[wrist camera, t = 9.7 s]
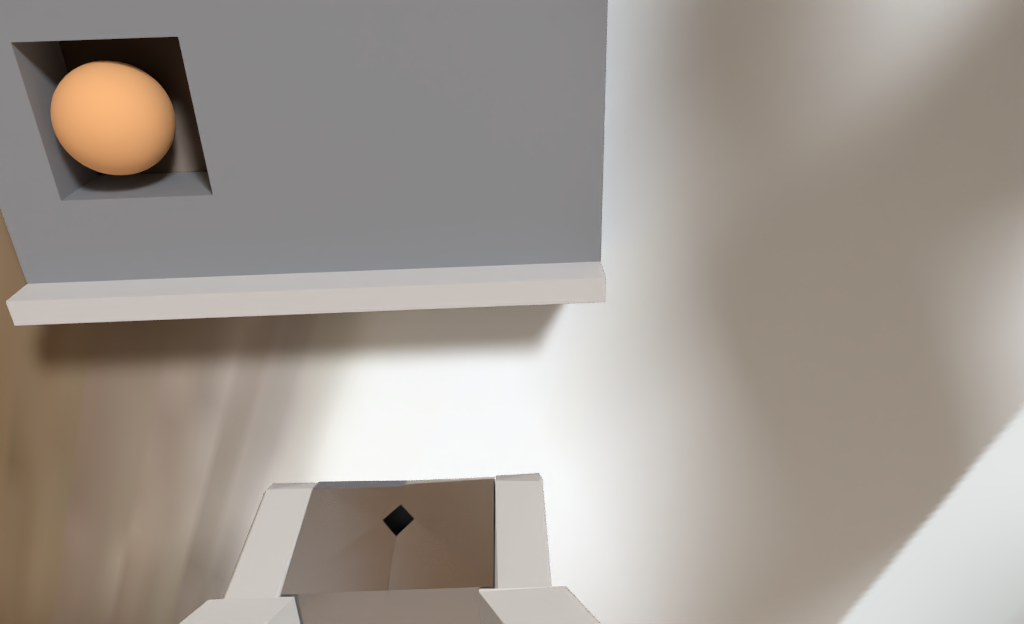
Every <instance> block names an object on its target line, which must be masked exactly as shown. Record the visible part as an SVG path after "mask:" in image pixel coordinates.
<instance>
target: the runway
mask: <svg viewBox="0 0 1024 624" xmlns="http://www.w3.org/2000/svg"><path fill="white" fill-rule="evenodd" d="M607 2H608V0H0V208H1V211H2V214H3V217H4V220H5V222H6V225H7V228H8V231H9V234H10V236H11V239H12V242H13V245H14V248H15V250H16V253H17V256H18V259H19V262H20V264H21V267H22V270H23V273H24V276H25V278H26V281H27V285H25V286H24V287H23V288H22V289H21V290H19V291H18V292H17V293H16V294H14V295H13V296H12V297H11V298H10V299H8V300H7V301H6V303H7V306H8V309H9V311H10V314H11V317H12V319H13V322H14V325H15V326H16V325H41V324H66V323H92V322H117V321H142V320H167V319H192V318H217V317H242V316H267V315H292V314H318V313H343V312H368V311H393V310H418V309H443V308H468V307H493V306H519V305H544V304H569V303H594V302H605V292H606V277H605V274H604V270H603V267H602V264H601V226H602V189H603V151H604V114H605V76H606V39H607ZM151 37H178V39H179V43H180V48H181V52H182V57H183V61H184V66H185V71H186V75H187V80H188V84H189V89H190V93H191V98H192V102H193V107H194V112H195V116H196V121H197V125H198V130H199V134H200V139H201V143H202V148H203V152H204V157H205V162H206V166H207V171H205V172H178V173H151V174H130V175H98V174H97V171H95V170H92V169H90V168H88V167H86V166H84V165H83V164H81V163H80V162H78V161H77V160H75V159H74V158H73V157H72V156H71V155H70V154H69V153H68V152H67V151H66V150H65V149H64V148H63V146H62V145H61V143H60V142H59V140H58V138H57V136H56V134H55V132H54V129H53V126H52V121H51V112H50V110H51V101H52V97H53V94H54V92H55V90H56V88H57V86H58V85H59V83H60V82H61V80H62V79H63V78H64V77H65V76H66V75H67V74H68V71H67V67H66V64H65V60H64V57H63V53H62V50H61V46H60V43H59V41H65V40H93V39H122V38H151Z"/></svg>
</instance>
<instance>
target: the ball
mask: <svg viewBox="0 0 1024 624" xmlns="http://www.w3.org/2000/svg"><path fill="white" fill-rule="evenodd" d="M50 112H51V121H52V126H53V129H54V132H55V134H56V136H57V138H58V140H59V142H60V143H61V145H62V146H63V148H64V149H65V150H66V151H67V152H68V153H69V154H70V155H71V156H72V157H73V158H74V159H75V160H77V161H78V162H80V163H81V164H83V165H84V166H86V167H88V168H90V169H92V170H95V171H97V172H101V173H105V174H110V175H130V174H135V173H139V172H142V171H144V170H147V169H149V168H151V167H152V166H154V165H155V164H156V163H158V162H159V161H160V160H161V159H162V158H163V157H164V156H165V154H166V153H167V152H168V150H169V149H170V147H171V145H172V142H173V139H174V136H175V130H176V119H175V112H174V109H173V105H172V103H171V101H170V98H169V97H168V95H167V93H166V92H165V90H164V89H163V88H162V87H161V85H160V84H159V83H158V82H157V81H156V80H155V79H154V78H152V77H151V76H150V75H149V74H147V73H146V72H144V71H142V70H141V69H139V68H137V67H135V66H132V65H129V64H127V63H123V62H118V61H110V60H105V61H94V62H90V63H86V64H84V65H81V66H79V67H77V68H75V69H74V70H72V71H71V72H70V73H68V74H67V75H66V76H65V77H64V78H63V79H62V80H61V82H60V83H59V85H58V86H57V88H56V90H55V92H54V94H53V97H52V101H51V110H50Z"/></svg>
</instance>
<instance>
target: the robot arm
mask: <svg viewBox="0 0 1024 624" xmlns="http://www.w3.org/2000/svg"><path fill="white" fill-rule="evenodd" d="M179 624H601V623H600V622H599V621H598V620H597V619H596V618H595V617H594V616H593V615H592V614H591V613H590V611H589V610H588V609H587V608H586V607H585V606H584V605H583V604H582V603H581V602H580V601H579V600H578V599H577V598H576V597H575V595H574V594H573V593H572V592H571V591H570V590H569V589H568V588H567V587H566V586H557V587H552V584H551V573H550V561H549V549H548V538H547V526H546V514H545V503H544V491H543V479H542V477H541V476H540V474H539V473H535V474H518V475H501V476H496V480H495V477H481V478H458V479H435V480H412V481H342V482H318V483H273V484H272V485H271V486H270V487H269V488H268V489H267V490H266V491H265V493H264V495H263V497H262V500H261V502H260V505H259V507H258V510H257V513H256V515H255V518H254V520H253V523H252V525H251V528H250V530H249V533H248V535H247V538H246V540H245V543H244V546H243V548H242V551H241V553H240V556H239V558H238V561H237V563H236V566H235V568H234V571H233V574H232V576H231V579H230V581H229V584H228V586H227V589H226V591H225V594H224V596H223V599H215V600H207V601H206V602H205V603H204V604H202V605H201V606H200V607H199V608H197V609H196V610H195V611H194V612H193V613H191V614H190V615H189V616H188V617H186V618H185V619H184V620H183V621H182V622H180V623H179Z"/></svg>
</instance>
